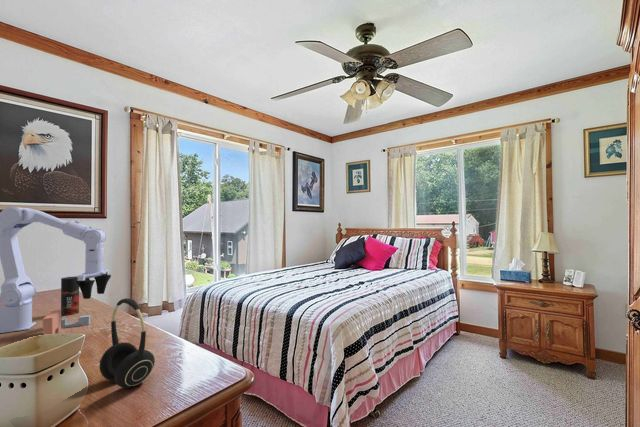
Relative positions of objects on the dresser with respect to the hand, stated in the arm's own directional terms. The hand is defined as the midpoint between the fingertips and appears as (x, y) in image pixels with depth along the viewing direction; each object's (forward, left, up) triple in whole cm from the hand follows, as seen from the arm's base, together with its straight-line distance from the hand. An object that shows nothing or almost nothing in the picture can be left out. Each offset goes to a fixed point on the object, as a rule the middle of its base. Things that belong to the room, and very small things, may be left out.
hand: (94, 296), depth 120 cm
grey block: (-6, -2, -10) cm, 12 cm away
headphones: (+16, -59, -10) cm, 62 cm away
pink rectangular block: (-10, -10, -10) cm, 17 cm away
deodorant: (-11, +18, -10) cm, 24 cm away
